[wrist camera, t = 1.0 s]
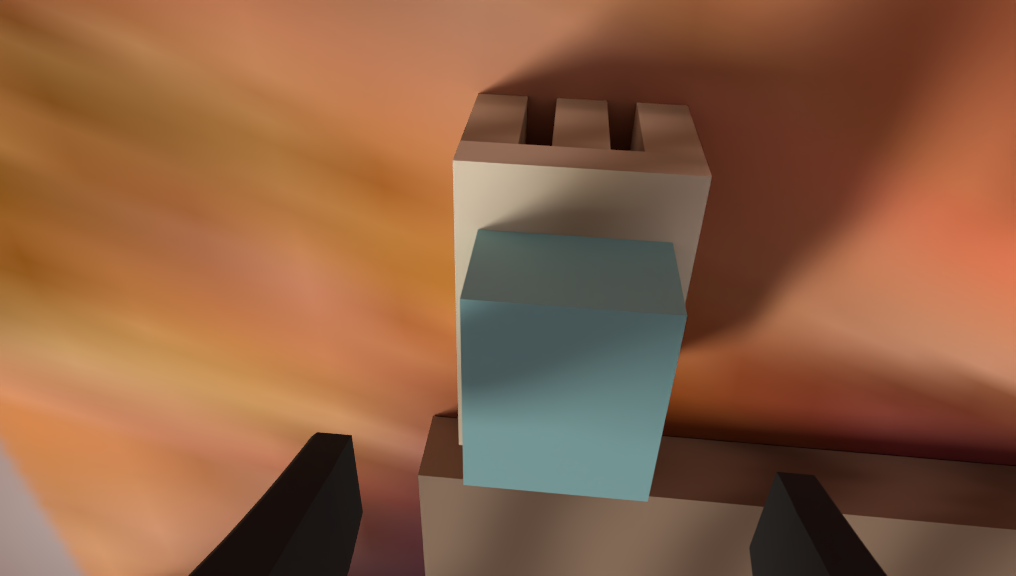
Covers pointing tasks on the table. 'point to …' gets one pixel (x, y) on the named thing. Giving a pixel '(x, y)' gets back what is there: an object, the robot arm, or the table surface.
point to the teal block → (567, 362)
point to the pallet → (578, 181)
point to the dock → (715, 514)
